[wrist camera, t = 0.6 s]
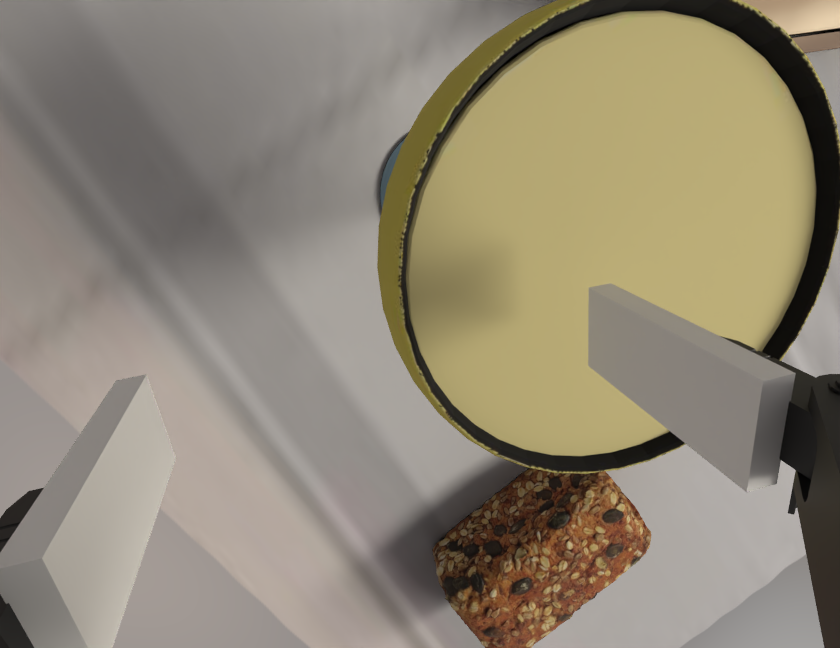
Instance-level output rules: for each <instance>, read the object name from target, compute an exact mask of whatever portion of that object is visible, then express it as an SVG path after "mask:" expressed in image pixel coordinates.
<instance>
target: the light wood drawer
mask: <svg viewBox="0 0 840 648" xmlns="http://www.w3.org/2000/svg"><path fill="white" fill-rule="evenodd" d="M741 1H743V2H745V3H747V4H749V5H751V6H753V7H755V8H757V9H758V10H760V11H761V12H762V13H763V14H765V15H766V16H767V17H769V18H770V19H771V20H772V21H774V22H775V23H776V24H777V25H779V26H780V27H781V28H783V29H784V30H785V31H786V32H787V33H788V35H789V36H790V35H797V34H804V33H811V32H819V31H826V30H833V29H840V0H741Z"/></svg>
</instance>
